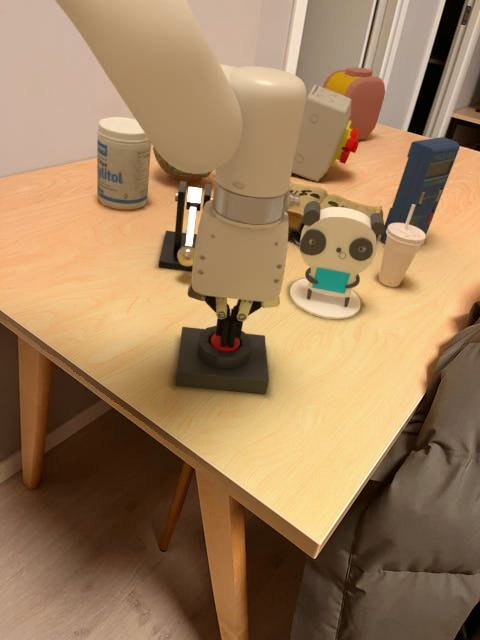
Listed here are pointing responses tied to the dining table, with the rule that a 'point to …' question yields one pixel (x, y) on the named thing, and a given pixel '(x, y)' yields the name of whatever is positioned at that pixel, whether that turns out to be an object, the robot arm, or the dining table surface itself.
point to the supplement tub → (122, 163)
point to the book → (324, 200)
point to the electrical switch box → (324, 134)
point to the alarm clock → (359, 96)
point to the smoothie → (399, 250)
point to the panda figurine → (334, 259)
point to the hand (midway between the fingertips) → (227, 339)
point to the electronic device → (422, 182)
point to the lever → (190, 226)
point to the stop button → (217, 342)
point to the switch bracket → (179, 232)
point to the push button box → (222, 362)
